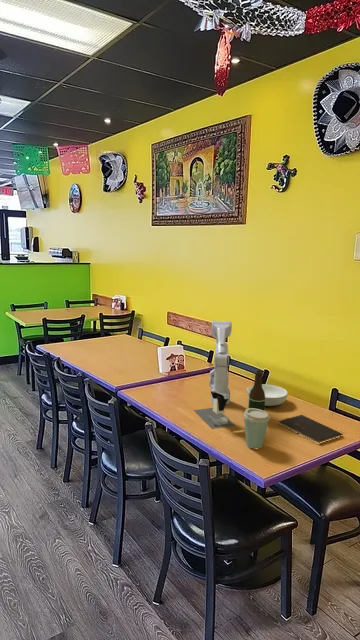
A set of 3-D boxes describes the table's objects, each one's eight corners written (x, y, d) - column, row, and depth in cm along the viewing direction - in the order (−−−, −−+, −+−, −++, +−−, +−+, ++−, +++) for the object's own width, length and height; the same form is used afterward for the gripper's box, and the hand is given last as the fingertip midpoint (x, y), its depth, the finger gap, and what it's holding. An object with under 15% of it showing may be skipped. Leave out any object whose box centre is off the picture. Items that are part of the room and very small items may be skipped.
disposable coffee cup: (264, 440, 177) (266, 407, 174) (270, 452, 166) (273, 417, 164) (239, 440, 177) (241, 406, 174) (244, 452, 166) (246, 417, 163)
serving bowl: (264, 393, 234) (265, 381, 233) (294, 405, 218) (296, 392, 217) (238, 400, 222) (238, 388, 221) (267, 413, 206) (268, 400, 204)
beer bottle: (251, 424, 193) (254, 374, 189) (244, 417, 200) (247, 369, 196) (266, 422, 195) (270, 373, 191) (259, 416, 202) (262, 368, 198)
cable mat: (215, 409, 209) (215, 407, 209) (236, 427, 188) (236, 425, 188) (193, 412, 205) (193, 410, 204) (211, 431, 184) (212, 428, 184)
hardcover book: (318, 446, 174) (318, 441, 174) (278, 425, 194) (278, 420, 193) (342, 438, 183) (343, 433, 182) (302, 418, 202) (302, 414, 202)
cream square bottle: (220, 409, 193) (221, 395, 192) (224, 413, 190) (225, 398, 188) (212, 410, 192) (213, 396, 191) (216, 413, 188) (217, 399, 187)
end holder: (222, 417, 196) (222, 413, 196) (229, 424, 190) (229, 419, 189) (207, 419, 194) (208, 415, 193) (214, 425, 187) (214, 421, 187)
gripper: (205, 375, 193) (204, 403, 196) (219, 386, 180) (218, 415, 182) (219, 374, 196) (218, 402, 198) (234, 384, 183) (232, 413, 185)
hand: (219, 408), depth 191 cm, fingers closed on cream square bottle, 4 cm apart
